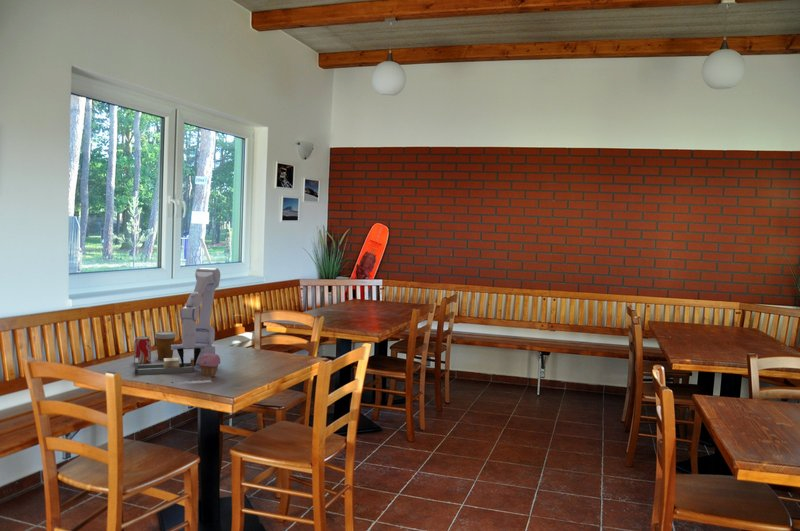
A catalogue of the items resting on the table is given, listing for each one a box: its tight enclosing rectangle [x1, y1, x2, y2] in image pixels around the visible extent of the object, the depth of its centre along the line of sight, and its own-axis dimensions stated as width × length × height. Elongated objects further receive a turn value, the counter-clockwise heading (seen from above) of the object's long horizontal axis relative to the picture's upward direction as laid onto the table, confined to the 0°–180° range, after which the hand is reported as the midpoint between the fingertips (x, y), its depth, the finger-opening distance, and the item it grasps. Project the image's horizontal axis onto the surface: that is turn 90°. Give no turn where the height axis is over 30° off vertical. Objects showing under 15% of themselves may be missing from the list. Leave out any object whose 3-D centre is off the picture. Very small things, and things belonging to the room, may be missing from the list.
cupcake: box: [198, 353, 221, 378], centre depth 276 cm, size 9×9×10 cm
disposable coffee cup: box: [154, 330, 177, 360], centre depth 309 cm, size 10×10×12 cm
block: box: [163, 357, 195, 370], centre depth 283 cm, size 12×6×4 cm, turn 112°
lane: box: [134, 358, 194, 376], centre depth 280 cm, size 23×10×6 cm, turn 112°
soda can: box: [133, 336, 152, 365], centre depth 296 cm, size 7×7×12 cm
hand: (188, 365), depth 284 cm, fingers closed on block, 4 cm apart
